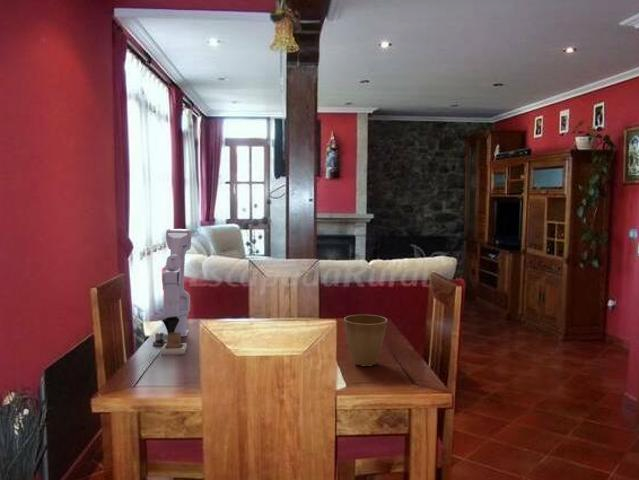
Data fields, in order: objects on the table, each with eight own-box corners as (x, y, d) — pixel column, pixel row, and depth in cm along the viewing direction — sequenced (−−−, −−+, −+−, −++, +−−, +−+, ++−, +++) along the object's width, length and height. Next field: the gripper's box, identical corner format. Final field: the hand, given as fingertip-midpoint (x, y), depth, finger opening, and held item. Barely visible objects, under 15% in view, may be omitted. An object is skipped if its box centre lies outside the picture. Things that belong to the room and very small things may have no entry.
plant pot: (349, 355, 193) (350, 312, 192) (389, 360, 188) (391, 316, 187) (337, 367, 179) (338, 321, 178) (380, 372, 174) (381, 325, 173)
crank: (154, 342, 201) (154, 333, 201) (156, 340, 204) (156, 331, 204) (177, 342, 201) (177, 334, 200) (180, 340, 204) (180, 332, 204)
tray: (164, 348, 197) (164, 343, 197) (186, 348, 198) (186, 343, 198) (161, 354, 189) (161, 349, 189) (183, 354, 190) (183, 349, 190)
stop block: (169, 348, 195) (169, 332, 195) (180, 348, 196) (180, 332, 195) (167, 351, 191) (167, 335, 191) (178, 351, 192) (179, 335, 191)
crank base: (154, 342, 206) (154, 332, 205) (180, 341, 207) (180, 331, 207) (151, 346, 200) (151, 336, 199) (178, 346, 201) (178, 335, 201)
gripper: (160, 305, 192) (160, 342, 192) (193, 300, 203) (193, 335, 203) (149, 302, 196) (149, 338, 197) (182, 298, 207) (182, 332, 208)
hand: (170, 337), depth 200 cm, fingers closed, pressing on crank
